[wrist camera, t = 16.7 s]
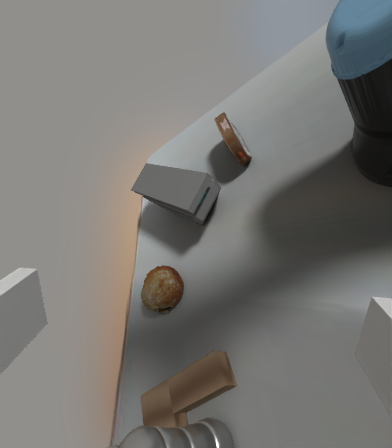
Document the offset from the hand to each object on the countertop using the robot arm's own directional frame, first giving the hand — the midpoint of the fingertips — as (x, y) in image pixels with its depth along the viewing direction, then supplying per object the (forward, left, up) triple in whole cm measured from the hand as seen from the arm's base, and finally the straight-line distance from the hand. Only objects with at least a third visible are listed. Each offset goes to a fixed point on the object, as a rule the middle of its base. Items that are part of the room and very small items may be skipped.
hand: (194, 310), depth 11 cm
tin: (-47, +4, -32) cm, 57 cm away
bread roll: (-27, -27, -32) cm, 50 cm away
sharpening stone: (-43, -13, -32) cm, 55 cm away
